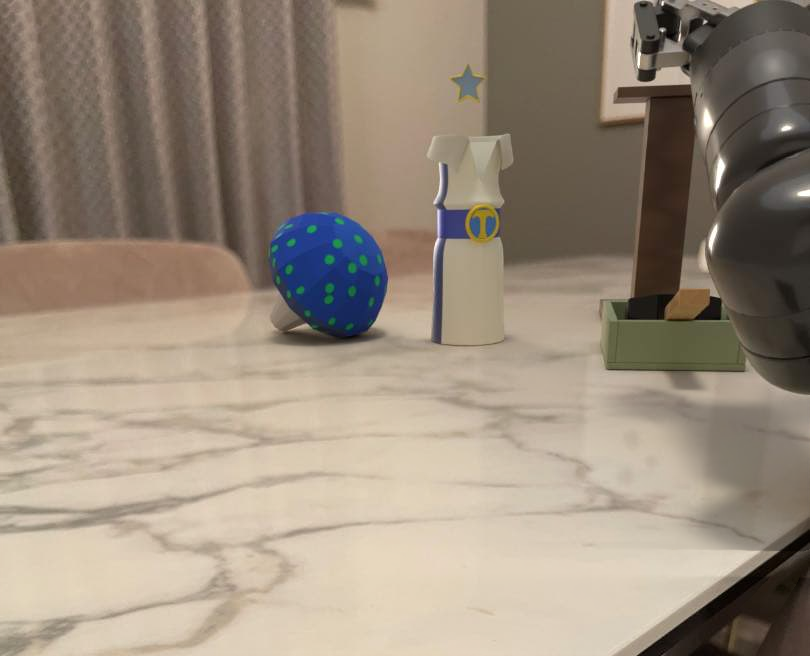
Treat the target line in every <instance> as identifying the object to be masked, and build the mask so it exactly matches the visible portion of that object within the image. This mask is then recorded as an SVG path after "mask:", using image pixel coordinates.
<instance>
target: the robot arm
mask: <svg viewBox="0 0 810 656" xmlns="http://www.w3.org/2000/svg"><path fill="white" fill-rule="evenodd" d="M632 11H633V12H632V14H633V19H632V27H631V36H630V41H629V43H630V44H629V47H630V52H631V58H632V63H633V69H634V74H635V79H636V80H637V82H641V83H649V82H653V81H654V80H655V79H656V76H657V72H660V71H661V70H662V69H663V68H680V70H681V72H682V73H683V74H684V75H685V76H687V77H688V78H689V82H690V84H691V91H692V98H693V106H694V114H695V119H694V128H695V138H696V140H697V143H698V148H699V153H700V155H701V158H702V161H703V163H704V165H705V169H706V176H707V183H708V190H709V191H708V192H709V195H710V197H709V198H710V201H711V205H712V210H713V213H714V215H715V217H714V219H713V221H712V223H711V225H710V227H709V230H708V233H707V236H706V238H705V245H704V257H705V263H706V267H707V271H708V273H709V275H710V278H711V280H712V282H713V284H714V287H715V289H716V291H717V294H718V297H719V298H721V300H722V303H723V305H724V307H725V310H726V312H727V314H728V317H729V319H730V321H731V324H732V326H733V328H734V331H735V333H736V335H737V338H738V340H739V342H740V345H741V347H742V349H743V351H744V354H745V356H746V360H747V361H748V363H749V364H750V366H751V367H752V368H753V370H754V371H755V372H756V373H757V374H758V375H759V377H761V378H762V379H764V380H765V381H766V382H768V383H769V384H770V385H772V386H773V387H776V388H778V389H780V390H782V391H786V392H789V393H793V394H797V395H803V396H810V0H760V1H757V2H754V3H750V4H747V5H746V6H743V7H741V8H740V7H737V6H732V7H726V6H724V5H721V4H719V3H717V2H715V1H712V0H691V1H690V0H657V5H656V6H654V3H653V2H652V1H649V0H640V1H636V2H635V3H634V4H633V10H632ZM705 21H706V22H705Z"/></svg>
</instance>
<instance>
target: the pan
mask: <svg viewBox="0 0 810 656" xmlns="http://www.w3.org/2000/svg"><path fill="white" fill-rule="evenodd" d="M627 299H628V301H627V303H626V305H625V320H721V312H722V300H721V298H720V296H715V295H711V289H710V288H680V289H679V291H678V292H677V294H653V295H647V296H640V297H634V298H630V297H629V298H627Z"/></svg>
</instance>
